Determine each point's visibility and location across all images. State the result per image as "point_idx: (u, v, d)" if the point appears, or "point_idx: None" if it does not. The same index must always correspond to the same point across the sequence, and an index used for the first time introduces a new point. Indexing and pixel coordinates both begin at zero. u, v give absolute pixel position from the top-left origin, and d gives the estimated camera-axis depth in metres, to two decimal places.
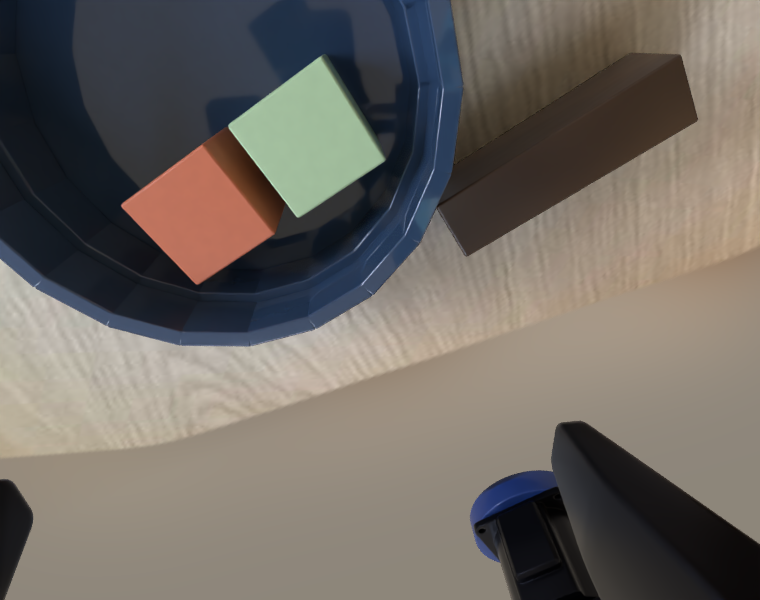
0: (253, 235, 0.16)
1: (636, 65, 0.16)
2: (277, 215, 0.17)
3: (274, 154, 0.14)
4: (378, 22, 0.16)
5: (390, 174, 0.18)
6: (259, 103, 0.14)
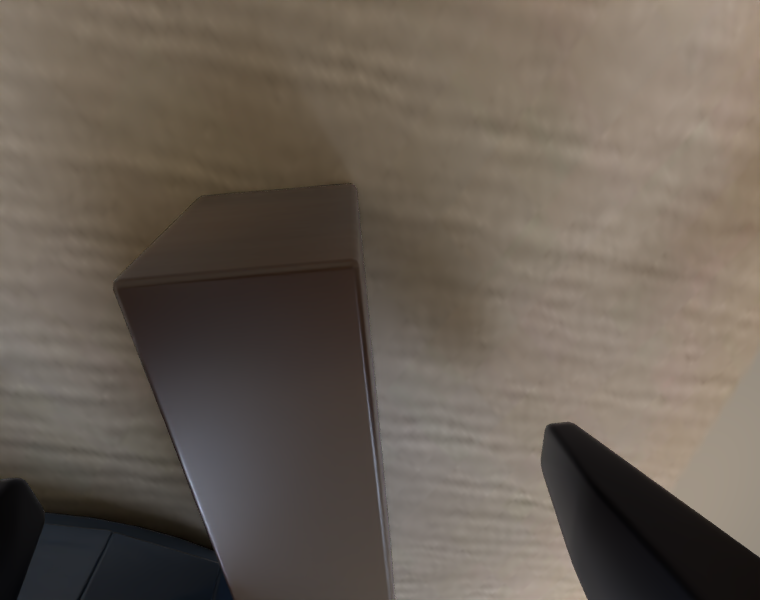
0: None
1: None
2: None
3: None
4: None
5: None
6: None
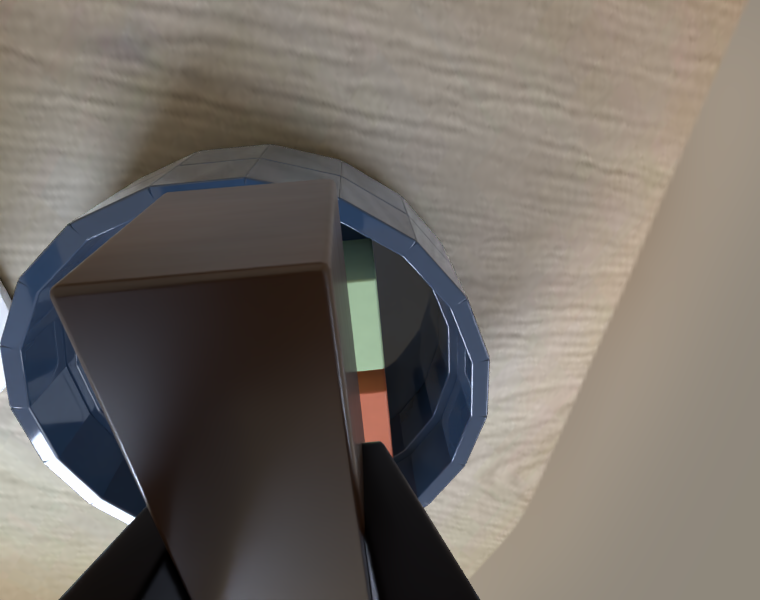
0: (377, 405, 0.17)
1: None
2: None
3: None
4: None
5: None
6: None
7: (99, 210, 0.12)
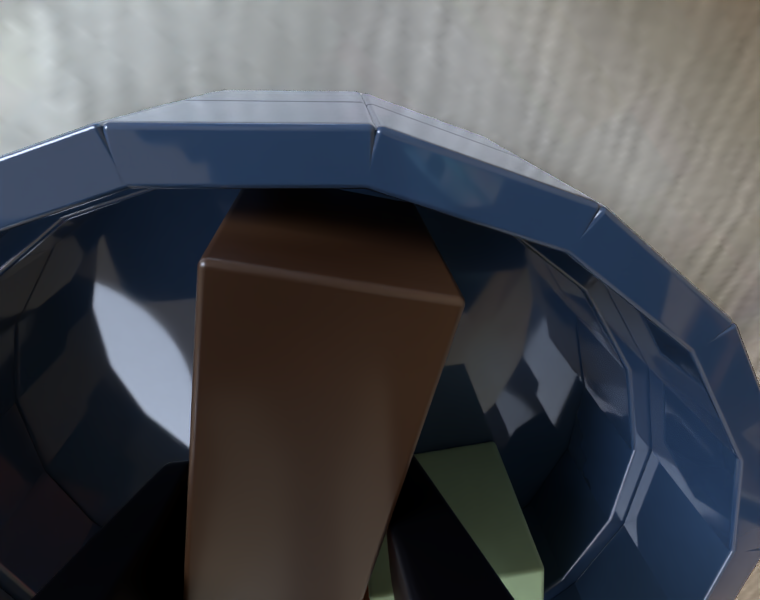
0: None
1: None
2: None
3: None
4: (543, 446, 0.12)
5: None
6: None
7: None
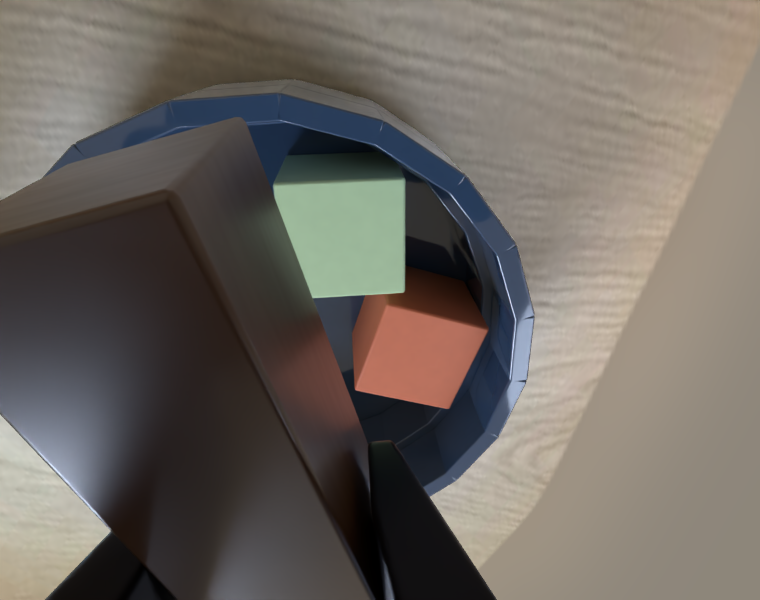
0: (471, 343, 0.15)
1: None
2: (473, 305, 0.16)
3: (334, 277, 0.14)
4: (295, 134, 0.15)
5: None
6: None
7: (109, 128, 0.10)
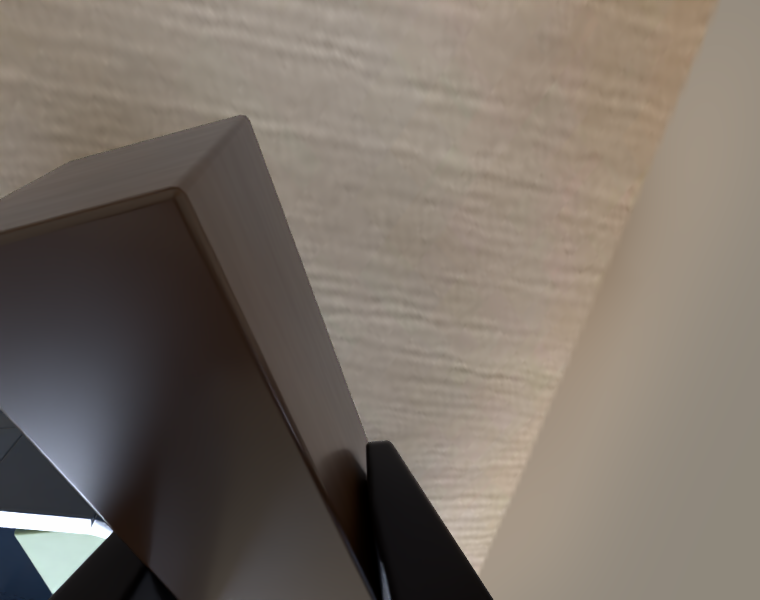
0: None
1: None
2: None
3: None
4: None
5: None
6: None
7: None
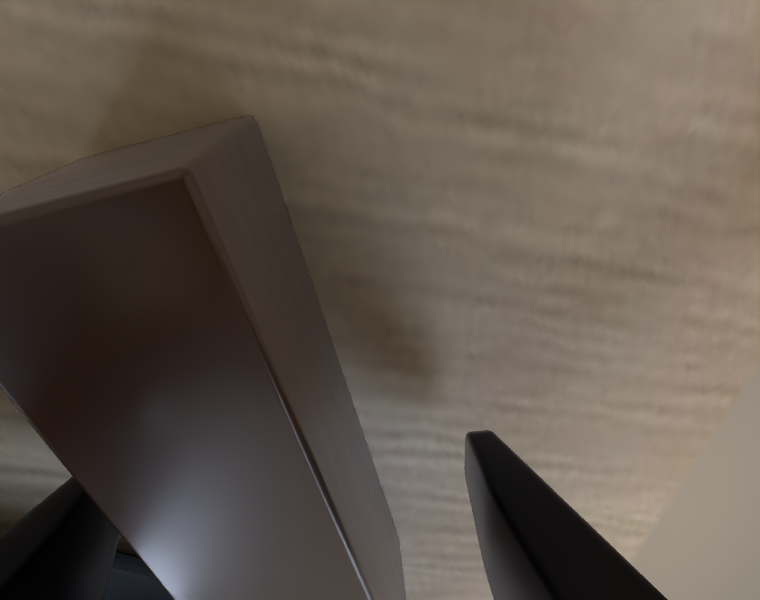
0: None
1: None
2: None
3: None
4: None
5: None
6: None
7: None
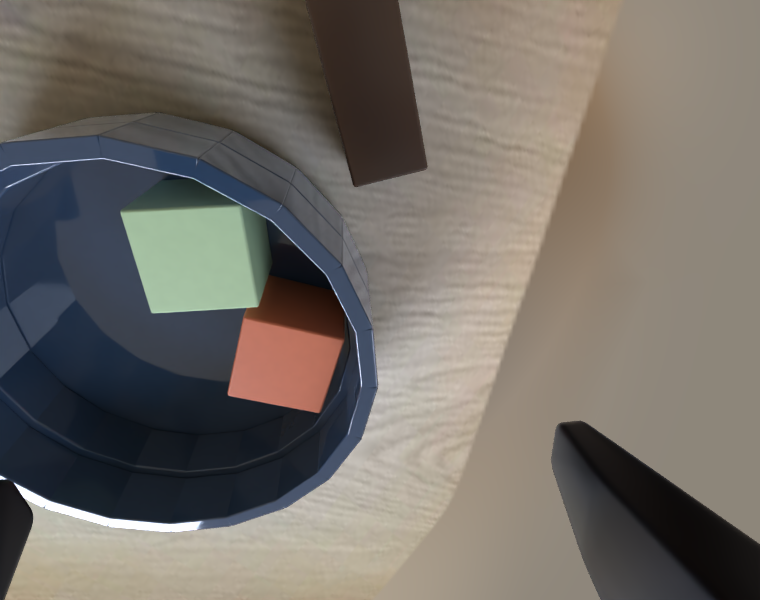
0: (329, 352, 0.16)
1: None
2: (339, 317, 0.17)
3: (190, 293, 0.15)
4: None
5: None
6: (141, 280, 0.15)
7: None
